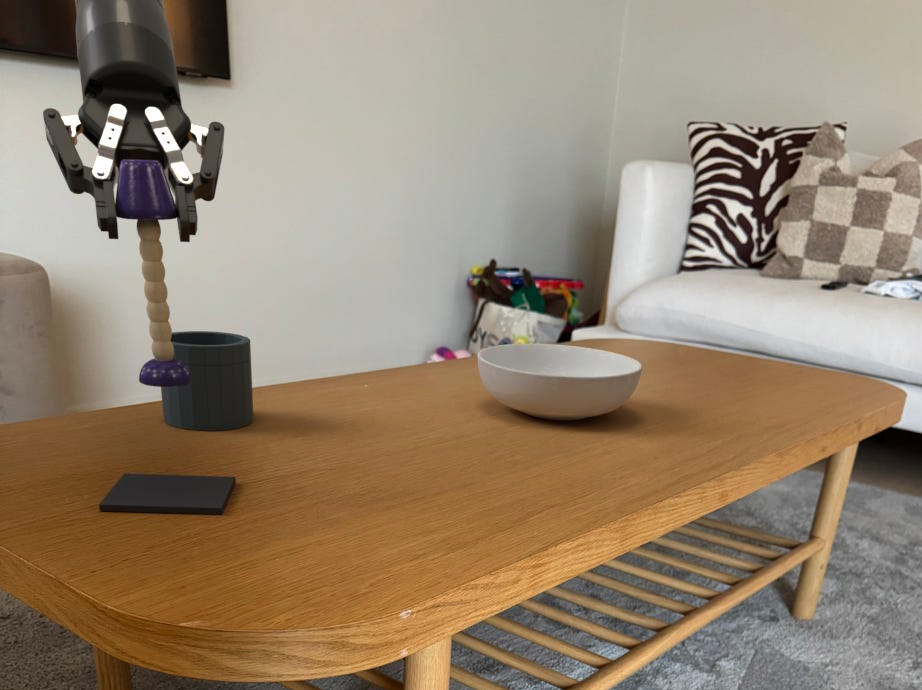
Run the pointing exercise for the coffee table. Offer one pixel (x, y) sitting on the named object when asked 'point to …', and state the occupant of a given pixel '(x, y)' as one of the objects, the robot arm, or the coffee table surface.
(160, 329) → the toy lamp
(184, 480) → the mat
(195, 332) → the jar
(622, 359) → the serving bowl
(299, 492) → the coffee table surface
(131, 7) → the robot arm
